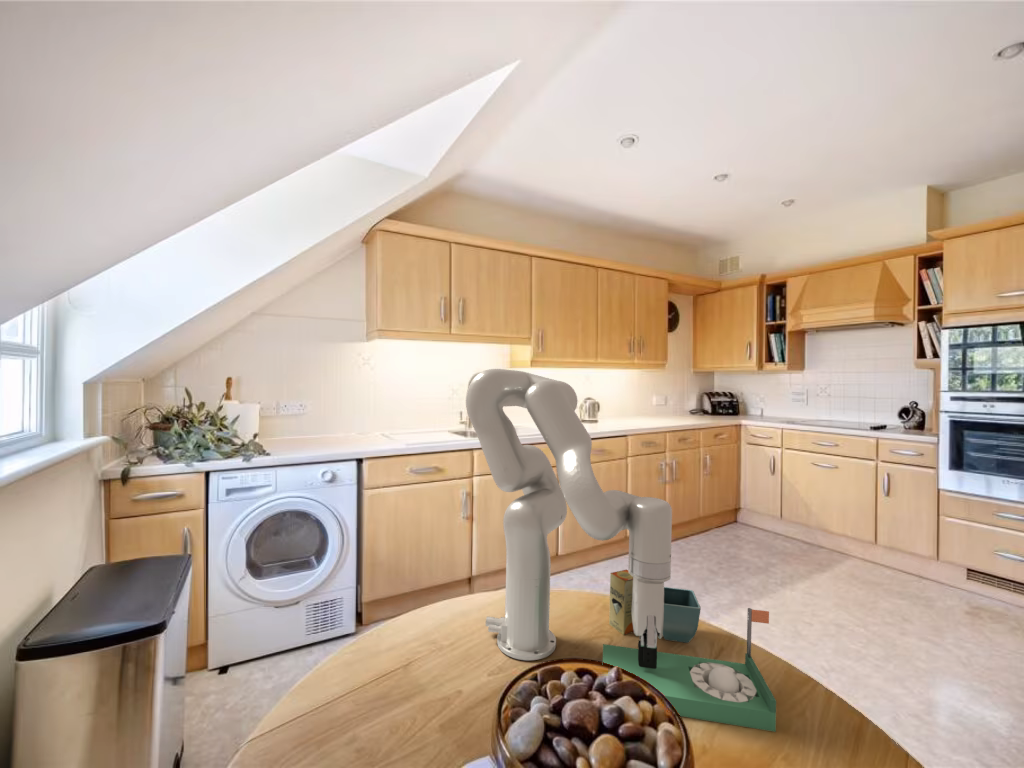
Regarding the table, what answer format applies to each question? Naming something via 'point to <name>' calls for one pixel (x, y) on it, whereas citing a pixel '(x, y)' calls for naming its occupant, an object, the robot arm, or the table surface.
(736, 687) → the ball
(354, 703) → the table surface
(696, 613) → the flower pot
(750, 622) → the flag
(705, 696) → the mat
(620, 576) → the shoe polish box
